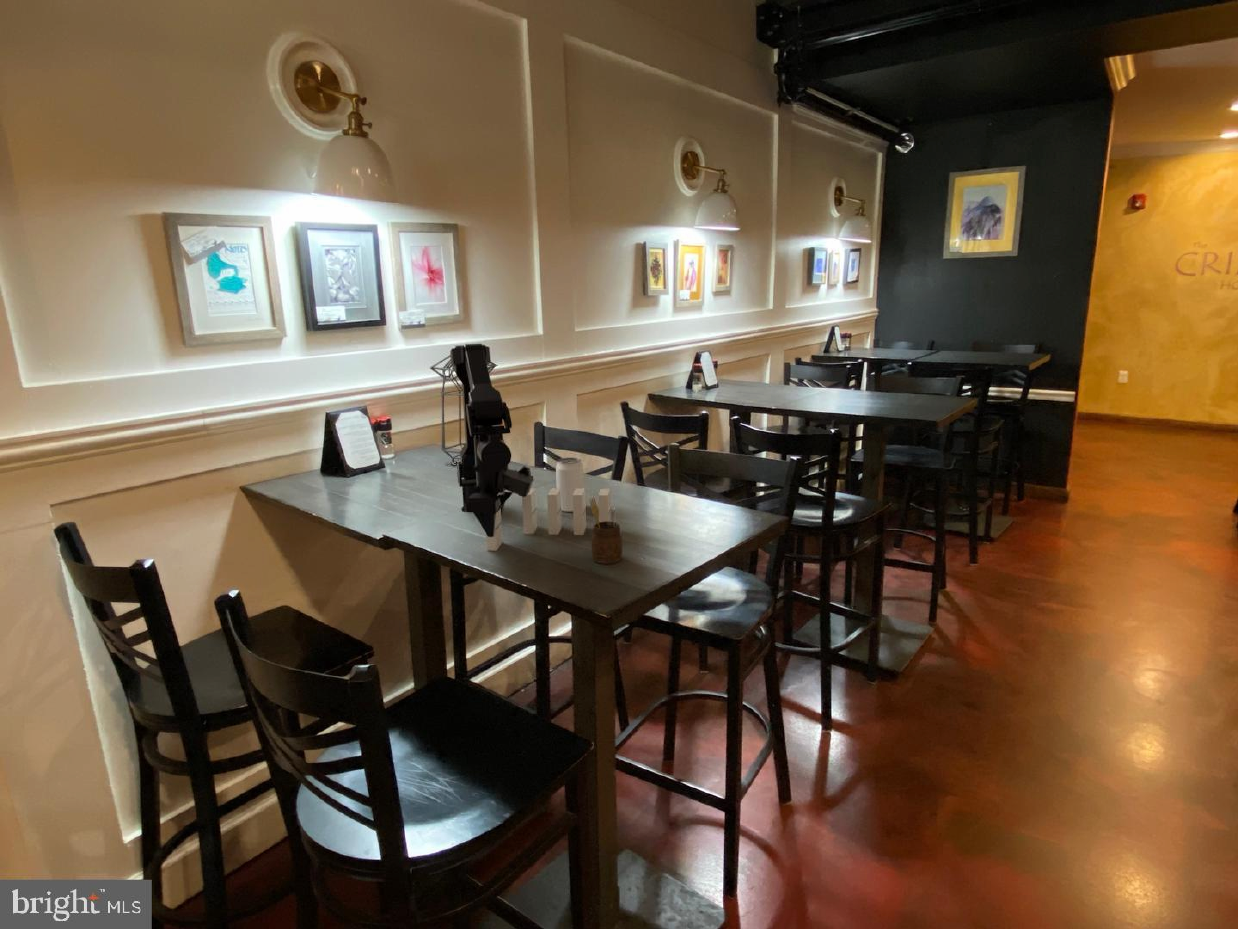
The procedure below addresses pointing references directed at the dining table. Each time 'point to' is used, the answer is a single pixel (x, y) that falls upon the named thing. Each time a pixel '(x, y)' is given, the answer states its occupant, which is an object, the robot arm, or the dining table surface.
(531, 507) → the domino
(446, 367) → the geometric lantern
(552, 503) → the domino
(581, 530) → the domino
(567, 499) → the can
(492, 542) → the domino
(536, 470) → the dining table surface
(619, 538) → the utensil holder
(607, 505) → the domino
